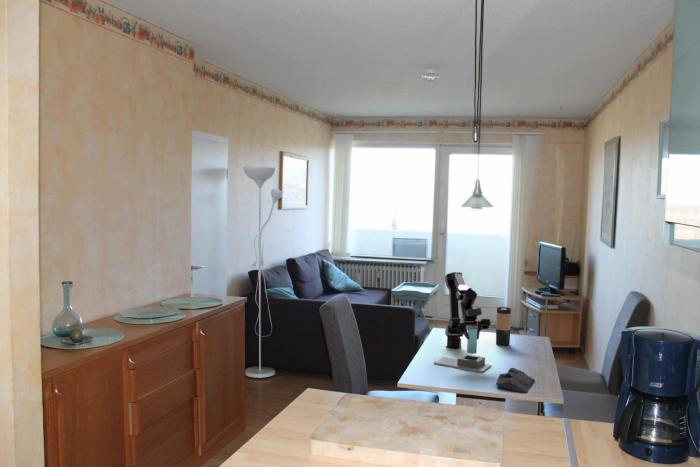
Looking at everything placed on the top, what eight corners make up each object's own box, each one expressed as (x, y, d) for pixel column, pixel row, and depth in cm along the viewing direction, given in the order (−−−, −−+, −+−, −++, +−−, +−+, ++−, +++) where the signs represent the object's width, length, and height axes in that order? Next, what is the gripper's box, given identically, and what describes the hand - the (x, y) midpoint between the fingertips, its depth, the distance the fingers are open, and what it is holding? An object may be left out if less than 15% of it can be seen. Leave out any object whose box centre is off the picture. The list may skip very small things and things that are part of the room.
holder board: (433, 364, 277) (434, 355, 277) (443, 358, 287) (443, 350, 287) (482, 372, 265) (483, 364, 265) (490, 366, 275) (491, 358, 275)
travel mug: (508, 343, 322) (510, 307, 321) (511, 346, 314) (512, 309, 313) (494, 342, 323) (495, 306, 321) (496, 345, 315) (498, 309, 314)
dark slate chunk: (490, 389, 244) (490, 378, 243) (501, 375, 263) (501, 365, 263) (527, 395, 237) (528, 383, 237) (536, 380, 257) (536, 370, 256)
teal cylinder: (464, 352, 275) (465, 324, 274) (471, 350, 278) (472, 323, 277) (471, 354, 271) (472, 326, 270) (479, 353, 274) (480, 325, 273)
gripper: (451, 301, 276) (457, 329, 266) (490, 301, 278) (496, 330, 267) (447, 314, 285) (452, 342, 274) (484, 314, 286) (490, 342, 276)
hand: (473, 339), depth 273 cm, fingers closed on teal cylinder, 4 cm apart
